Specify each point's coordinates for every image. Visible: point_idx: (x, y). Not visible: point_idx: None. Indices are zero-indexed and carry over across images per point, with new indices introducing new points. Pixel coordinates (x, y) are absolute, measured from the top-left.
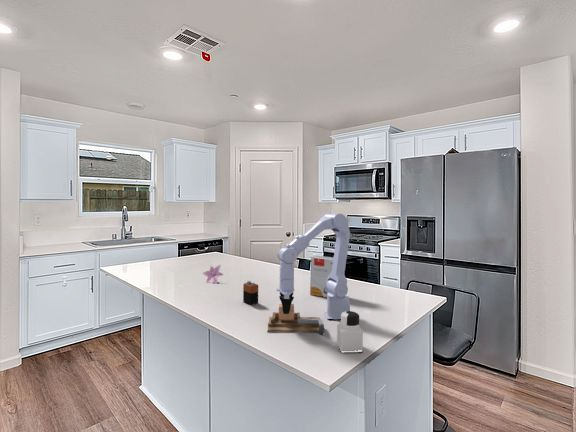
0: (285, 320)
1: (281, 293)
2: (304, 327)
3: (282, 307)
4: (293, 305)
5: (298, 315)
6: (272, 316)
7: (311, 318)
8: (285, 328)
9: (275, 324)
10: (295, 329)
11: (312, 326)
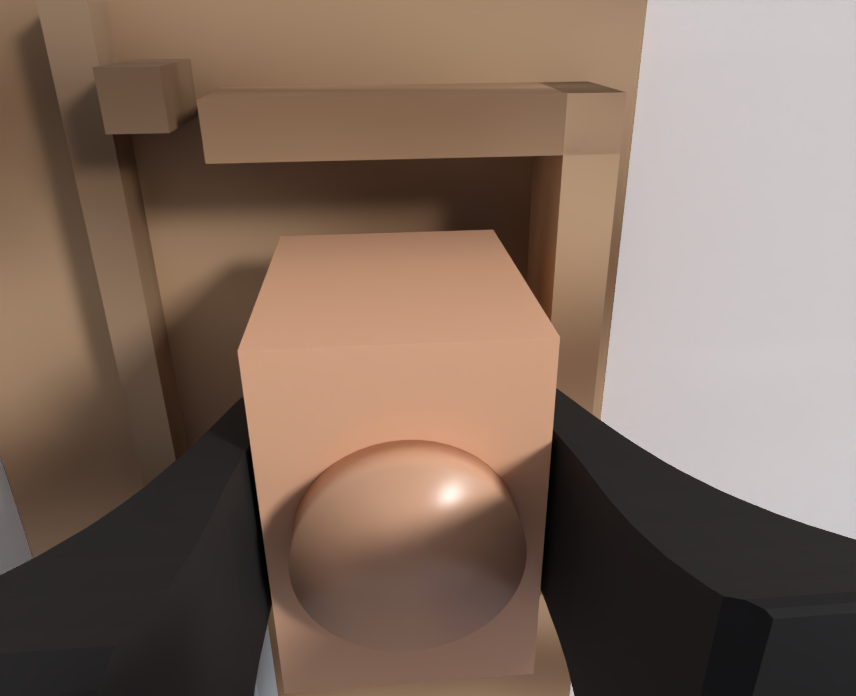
0: None
1: (727, 668)
2: None
3: (253, 445)
4: (422, 675)
5: None
6: (328, 98)
7: None
8: (36, 349)
9: (79, 172)
10: (39, 494)
11: None
